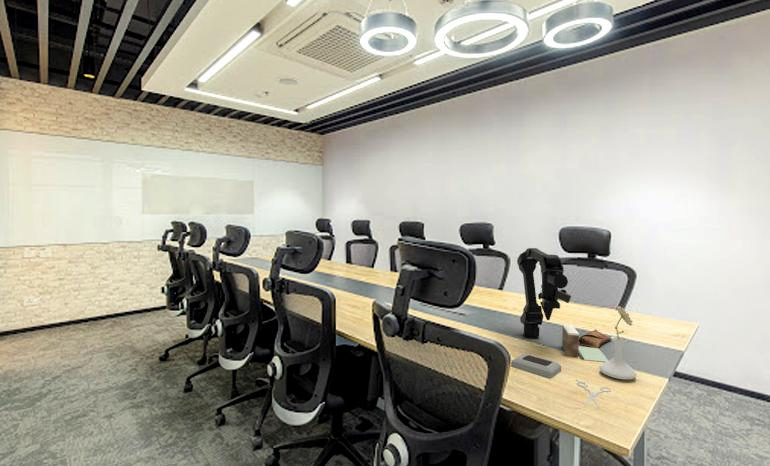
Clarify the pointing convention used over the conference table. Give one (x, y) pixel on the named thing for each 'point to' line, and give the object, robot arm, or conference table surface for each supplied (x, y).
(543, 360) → the grey flat block
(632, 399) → the conference table surface
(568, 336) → the walnut block
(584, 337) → the sunglasses case
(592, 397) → the scissors
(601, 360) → the mat
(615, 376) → the flower in vase
